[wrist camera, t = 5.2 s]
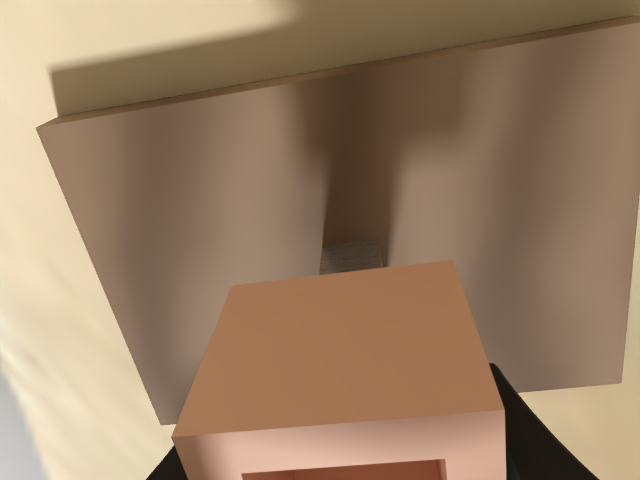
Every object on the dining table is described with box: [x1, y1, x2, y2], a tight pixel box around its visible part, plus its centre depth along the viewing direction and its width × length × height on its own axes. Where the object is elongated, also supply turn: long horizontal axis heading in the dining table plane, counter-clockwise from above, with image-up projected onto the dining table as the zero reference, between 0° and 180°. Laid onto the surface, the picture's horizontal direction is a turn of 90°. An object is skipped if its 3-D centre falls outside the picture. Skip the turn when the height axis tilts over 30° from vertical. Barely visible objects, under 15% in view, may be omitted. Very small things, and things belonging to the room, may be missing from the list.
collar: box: [171, 259, 506, 480], centre depth 12 cm, size 6×6×5 cm
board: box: [36, 16, 640, 425], centre depth 21 cm, size 20×14×2 cm
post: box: [319, 239, 383, 275], centre depth 18 cm, size 2×2×4 cm
